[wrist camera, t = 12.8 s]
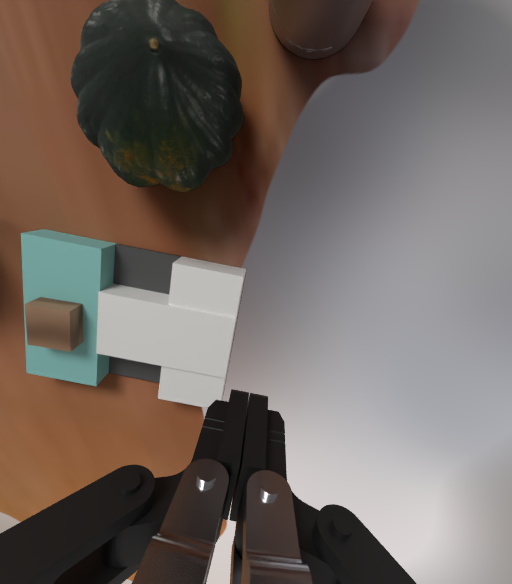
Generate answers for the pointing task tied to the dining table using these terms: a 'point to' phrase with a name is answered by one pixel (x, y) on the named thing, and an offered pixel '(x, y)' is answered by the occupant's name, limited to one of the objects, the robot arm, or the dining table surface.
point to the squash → (157, 92)
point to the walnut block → (54, 323)
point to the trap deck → (135, 314)
